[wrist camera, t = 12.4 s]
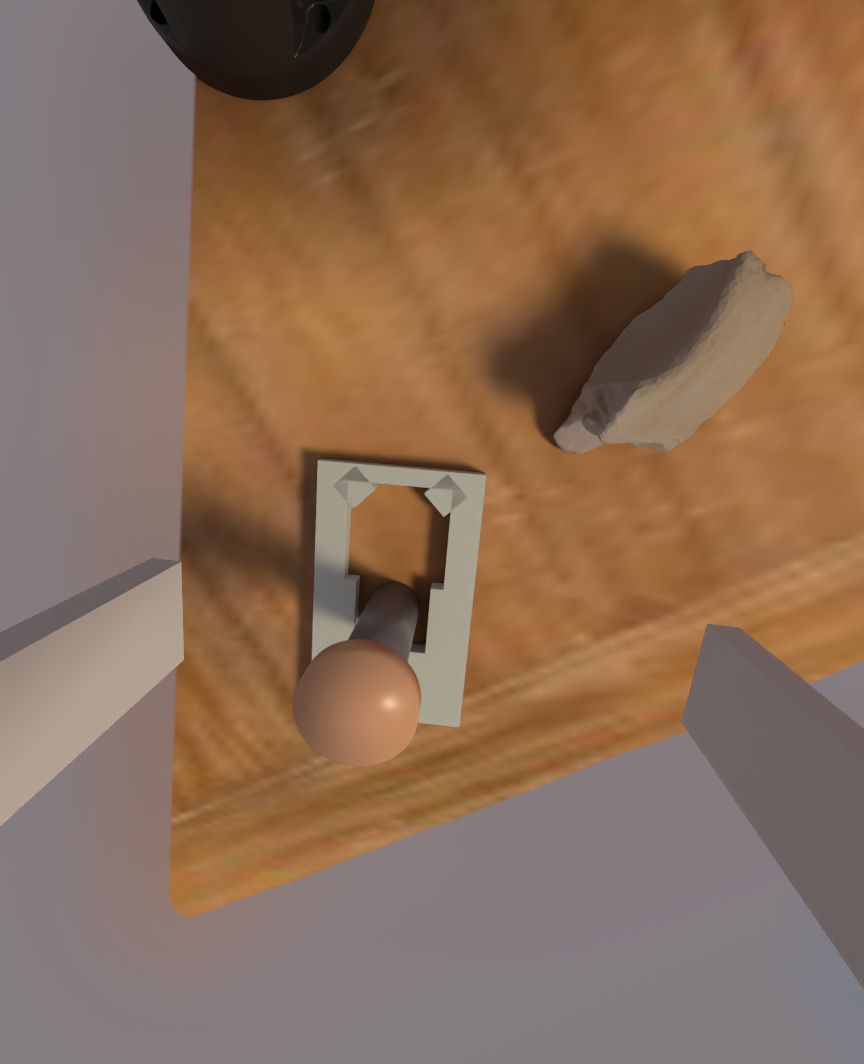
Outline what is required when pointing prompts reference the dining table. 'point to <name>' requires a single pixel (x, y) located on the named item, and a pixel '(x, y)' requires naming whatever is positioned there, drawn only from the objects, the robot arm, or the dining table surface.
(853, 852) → the robot arm
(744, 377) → the decorative stone
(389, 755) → the peg
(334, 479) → the keyhole board
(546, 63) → the dining table surface
